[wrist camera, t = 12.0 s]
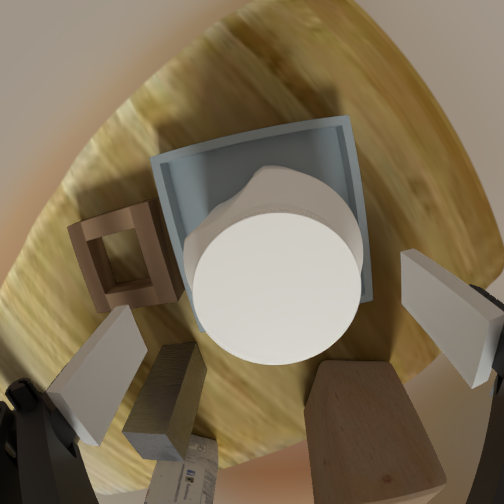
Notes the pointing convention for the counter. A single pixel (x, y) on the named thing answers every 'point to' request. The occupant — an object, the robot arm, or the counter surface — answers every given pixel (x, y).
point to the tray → (243, 168)
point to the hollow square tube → (153, 249)
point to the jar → (276, 268)
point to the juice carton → (186, 476)
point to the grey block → (167, 404)
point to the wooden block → (367, 438)
